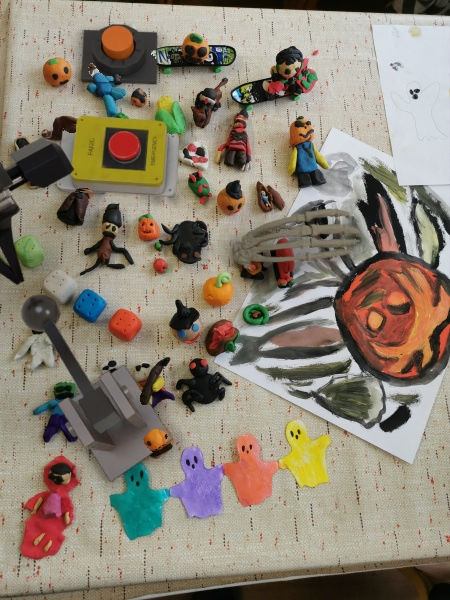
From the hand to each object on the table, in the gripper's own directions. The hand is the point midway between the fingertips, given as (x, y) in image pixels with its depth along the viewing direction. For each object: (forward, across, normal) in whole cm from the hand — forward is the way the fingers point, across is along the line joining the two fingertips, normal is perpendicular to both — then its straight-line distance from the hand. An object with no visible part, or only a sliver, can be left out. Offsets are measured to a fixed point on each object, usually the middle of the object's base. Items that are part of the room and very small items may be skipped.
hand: (20, 281), depth 53 cm
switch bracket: (+20, 0, -1) cm, 20 cm away
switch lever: (+8, 0, -5) cm, 9 cm away
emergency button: (0, +17, +19) cm, 26 cm away
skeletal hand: (+16, +30, +4) cm, 34 cm away
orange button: (-11, +26, +27) cm, 39 cm away
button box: (-10, +26, +28) cm, 40 cm away
